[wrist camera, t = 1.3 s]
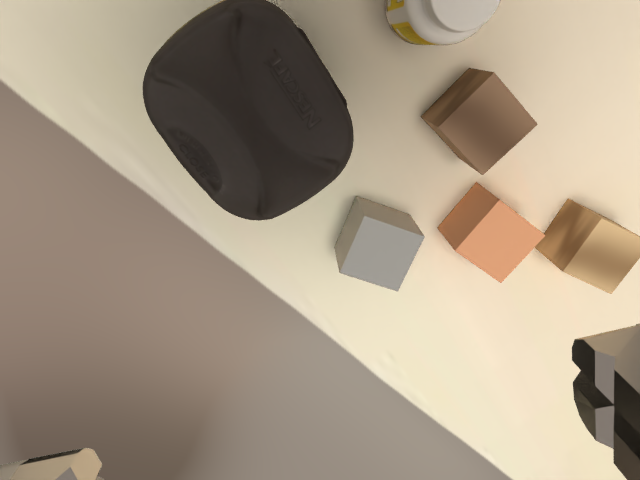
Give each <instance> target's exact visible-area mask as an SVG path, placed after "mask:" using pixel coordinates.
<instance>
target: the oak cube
mask: <svg viewBox="0 0 640 480" xmlns="http://www.w3.org/2000/svg"><path fill="white" fill-rule="evenodd" d="M544 234H545V235H546V236H545V237H544V238H543V239H542V240H541V241H540V242H539V243H538V244H537V245H536V246H535V248H536V249H537V250H538V251H540V252H541V253H542V254H543V255H544V256H545V257H547V258H548V259H549V260H550V261H551V262H552V263H554V264H555V265H556V266H557V267H558V268H559V269H560V270H562V271H563V272H565V273H567V274H569V275H571V276H573V277H576V278H578V279H580V280H582V281H584V282H586V283H588V284H591V285H593V286H595V287H597V288H599V289H601V290H603V291H606V292H608V293H610V294H612V292H613V291H614V290H615V289H616V287H617V286H618V285H619V283H620V282H621V281H622V280H623V278H624V277H625V276H626V275H627V273H628V272H629V271H630V269H631V268H632V267H633V266H634V264H635V263H636V262H637V260H638V259H639V258H640V236H638V235H636V234H635V233H633V232H631V231H629V230H628V229H626V228H624V227H622V226H621V225H619V224H617V223H615V222H614V221H612V220H610V219H608V218H606V217H604V216H602V215H600V214H598V213H596V212H594V211H592V210H590V209H588V208H586V207H584V206H582V205H580V204H578V203H576V202H574V201H572V200H570V199H567V201H566V202H565V204H564V205H563V207H562V208H561V210H560V211H559V212H558V214H557V215H556V217H555V218H554V220H553V221H552V223H551V224H550V225H549V227H548V228H547V230H546V231H545V233H544Z"/></svg>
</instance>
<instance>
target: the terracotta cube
mask: <svg viewBox="0 0 640 480" xmlns="http://www.w3.org/2000/svg"><path fill="white" fill-rule="evenodd" d="M438 229H439V231H440V232H441V233H442V234H443V236H444V237H445V238H446V240H447V241H448V242H449V244H450V245H451V246H452V247H453V249H454V250H455V251H456V252H458V253H459V254H460V255H462V256H463V257H465V258H466V259H468V260H469V261H470V262H472V263H473V264H475V265H476V266H477V267H479V268H480V269H482V270H483V271H485V272H486V273H487V274H489V275H490V276H492V277H493V278H495V279H496V280H497V281H499V282H500V283H502V281H503V280H504V279H505V278H506V277H507V276H508V275H509V274H510V273H511V272H512V271H513V270H514V269H515V268H516V266H517V265H518V264H519V263H520V262H521V261H522V260H523V259H524V258H525V257H526V256H527V255H528V254H529V253H530V252H531V250H532V249H533V248H534V247H535V246H536V245H537V244H538V243H539V242H540V241H541V240H542V239H543V238H544V237H545V236H546V235H545V234H543V233H542V232H541V231H539V230H538V229H537V228H536V227H534V226H533V225H532V224H530V223H529V222H528V221H526V220H525V219H524V218H523V217H521V216H520V215H519V214H517V213H516V212H515V211H514V210H512V209H511V208H510V207H508V206H507V205H506V204H504V203H503V202H502V201H500V200H499V199H498V198H497V197H495V196H494V195H493V194H491V193H490V192H489V191H487V190H486V189H485V188H484V187H482V186H481V185H480V184H478V183H477V182H476V183H475V184H474V185H473V186H472V188H471V189H470V190H469V191H468V192H467V194H466V195H465V196H464V197H463V198H462V199H461V201H460V202H459V203H458V204H457V205H456V206H455V208H454V209H453V210H452V211H451V212H450V214H449V215H448V216H447V217H446V218H445V219H444V221H443V222H442V223H441V224H440V225H439V226H438Z"/></svg>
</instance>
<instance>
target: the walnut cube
mask: <svg viewBox="0 0 640 480" xmlns="http://www.w3.org/2000/svg"><path fill="white" fill-rule="evenodd" d="M421 117H422V118H423V120H424V121H425V122H426V123H427V124H428V125H429V126H430V127H431V128H432V129H433V130H434V131H435V132H436V133H437V134H438V135H439V137H440V138H441V139H442V140H443V141H444V142H445V143H446V144H447V145H448V146H449V147H450V148H451V149H452V150H453V151H454V153H455V154H456V155H457V156H458V157H459V158H460V159H461V160H462V161H464V162H465V163H467V164H468V165H469V166H471V167H472V168H474V169H475V170H476V171H478V172H479V173H481V174H482V175H483V174H484V173H486V172H487V171H488V170H489V169H490V168H491V167H492V166H493V165H494V164H495V163H496V162H497V161H499V160H500V159H501V158H502V157H503V156H504V155H505V154H506V153H507V152H508V151H509V150H510V149H512V148H513V147H514V146H515V145H516V144H517V143H518V142H519V141H520V140H521V139H522V138H523V137H525V136H526V135H527V134H528V133H529V132H530V131H531V130H532V129H533V128H534V127H535V126H536V125H537V123H536V122H535V120H534V119H533V118H532V117H531V116H530V115H529V113H528V112H527V111H526V110H525V109H524V107H523V106H522V105H521V104H520V103H519V101H518V100H517V99H516V98H515V97H514V95H513V94H512V93H511V92H510V91H509V90H508V88H507V87H506V86H505V85H504V84H503V82H502V81H501V80H500V79H499V78H498V76H497V75H496V74H495V73H494V72H489V71H483V70H477V69H471V68H469V69H468V70H467V71H466V72H465V73H464V74H463V75H462V76H461V77H460V78H459V79H458V80H457V81H456V82H455V83H454V84H453V85H452V86H451V87H450V88H449V89H448V90H447V91H446V92H445V93H444V94H443V95H442V96H441V97H440V98H439V99H438V100H437V101H436V102H435V103H434V104H433V105H432V106H431V107H430V108H429V109H428V110H427V111H426V112H425V113H424V114H423V115H422V116H421Z"/></svg>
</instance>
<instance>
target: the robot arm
mask: <svg viewBox="0 0 640 480" xmlns="http://www.w3.org/2000/svg"><path fill="white" fill-rule="evenodd" d="M572 361H573V362H574V363H575V364H576V365H577V366H578V367H579V369H580V370H581V371H580V373H579V374H578V376H577V377H576V379H575V380H574V382H573V391H574V400H575V403H576V406H577V409H578V412H579V415H580V417H581V419H582V421H583V423H584V424H585V426H586V428H587V429H588V431H589V432H590V433H591V435H592V436H593V437H594V439H595V440H596V441H598V442H600V443H602V444H604V445H606V446H609V447H611V448H613V449H614V464H615V465H616V466H617V468H618V469H619V470H620V471H621V473H622V474H623V475H624V476H625V478H626V479H627V480H640V324H636V326H631V327H627V328H622V329H618V330H614V331H609V332H605V333H600V334H596V335H592V336H587V337H583V338H578V339H575V340H574V343H573V346H572ZM101 466H102V464H101V462H100V460H99V458H98V456H97V455H96V453H95V452H94V450H92V449H88V448H82V449H77V450H72V451H66V452H61V453H57V454H51V455H46V456H41V457H36V458H31V459H28V460H23V461H18V462H13V463H8V464H4V465H0V480H104V479H103V478H101V477H99V476H98V475H99V472H100V469H101Z"/></svg>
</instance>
